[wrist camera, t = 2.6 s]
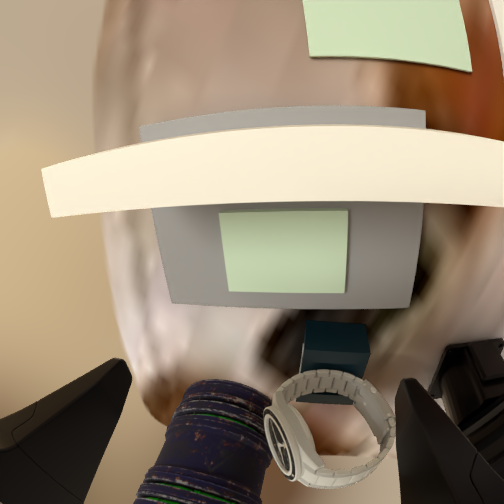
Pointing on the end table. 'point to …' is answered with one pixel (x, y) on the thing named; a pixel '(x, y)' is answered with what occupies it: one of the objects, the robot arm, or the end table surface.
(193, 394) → the storage jar
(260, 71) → the end table surface
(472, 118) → the end table surface
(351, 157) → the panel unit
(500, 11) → the cream mat
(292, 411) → the watch
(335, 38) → the sage mat
